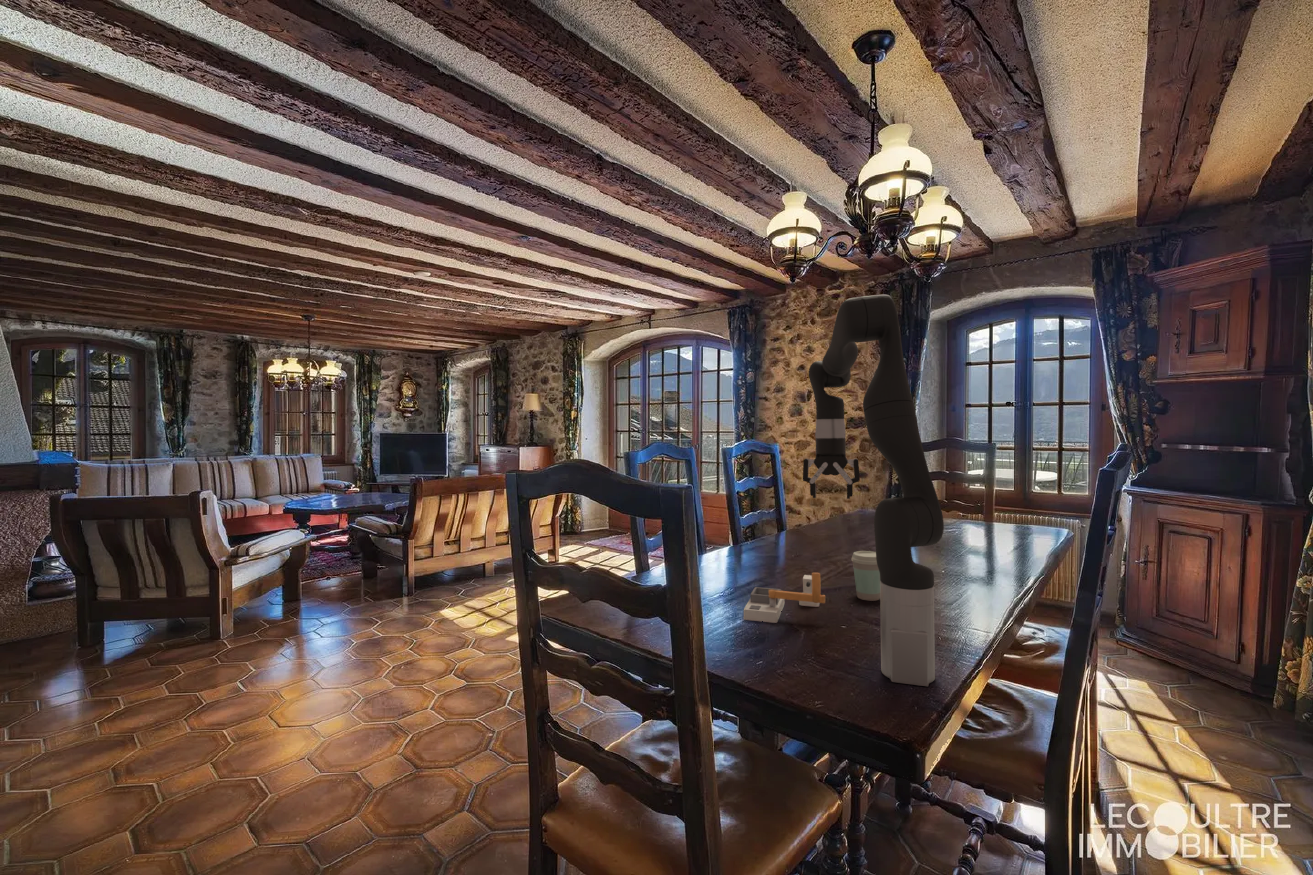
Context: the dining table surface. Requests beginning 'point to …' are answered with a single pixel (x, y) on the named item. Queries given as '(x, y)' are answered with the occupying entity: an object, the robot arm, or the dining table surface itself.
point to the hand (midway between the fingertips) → (831, 498)
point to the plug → (808, 591)
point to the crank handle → (813, 597)
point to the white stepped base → (763, 606)
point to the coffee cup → (866, 575)
